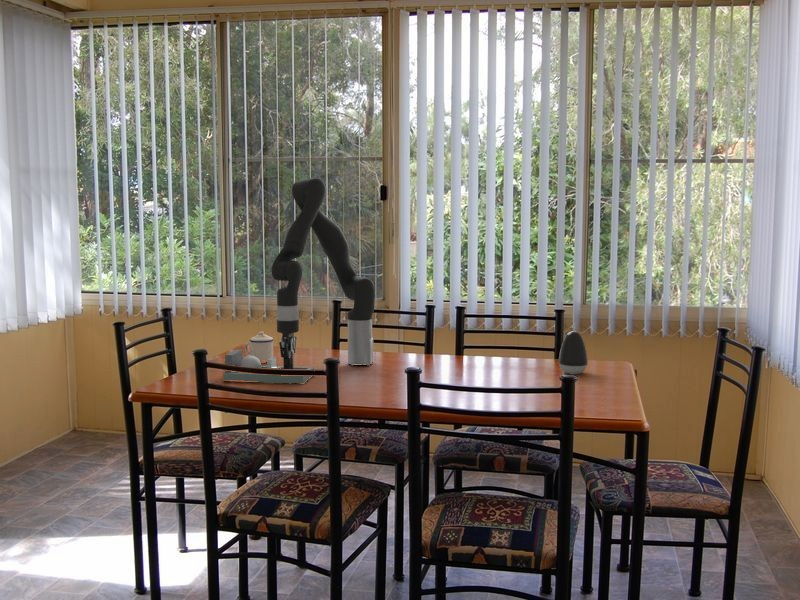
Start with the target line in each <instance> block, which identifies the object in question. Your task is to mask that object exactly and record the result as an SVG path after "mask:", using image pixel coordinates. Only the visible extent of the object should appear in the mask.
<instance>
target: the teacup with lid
mask: <svg viewBox="0 0 800 600" xmlns="http://www.w3.org/2000/svg"><path fill="white" fill-rule="evenodd" d="M248 345H250V350H249V351H248ZM243 348H244V352H245V354H247V356H249V355H251V356H255V357H257V358H258V359H259V360H268V359H270V358H272V357H274V337H271V336H269V335H267V334H265V332H264V331H258V334H256V335H255V336H253V337H250V338H249V341H248V342H245V343H244V345H243Z"/></svg>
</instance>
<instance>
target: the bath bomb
mask: <svg viewBox="0 0 800 600" xmlns="http://www.w3.org/2000/svg"><path fill="white" fill-rule="evenodd" d="M239 366H243V367H253V368H262V366H263V365H262V364H261V362H260V360H259V359H258V358H257V357H255V356H251V355H247V356H243V358H242V359H241V361H240V362H239Z"/></svg>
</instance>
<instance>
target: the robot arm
mask: <svg viewBox="0 0 800 600" xmlns="http://www.w3.org/2000/svg"><path fill="white" fill-rule="evenodd" d="M291 193H292V197H293V200H294V202H295V203H296V205H297V206H298V208H299V209H300V213H299V214H298V215H297V217H296V219H294V221H293V222H292V224H291V225H290V227H289V229H288V231H287V233H286V236H285V240H284V243H283V247H282V248H281V250H279V252H278V255H277V256H276V258H274V260H273V262H272V265H271V269H270V271H271V275H272V278H273V279H274V280H276V281H280V282H287V285H286V287H282V288H279V289H277V291H276V303H277V304H276V332H277V333H279V334H282V337H281V339H280V341H279V342H278V344H279V349H280V352H279V353H280V357H281V358H282V360H283V366H284V369H290V352H291V351H292V346H293V357H294V355H295V353H296V348H297V347H296V346H297V338H298V337H297V336H295V333H299V330H300V327H299V326H300V321H299V320H300V315H299V311H300V310H299V305H298V303H299V302H298V297H299V296H298V295H299V289H300V285H301V281H302V277H303V267H302V265H301V263H300V262H299V261H297V260H294V259H298V258H300V257H302V256H303V254H304V249H305V246H306V242H307V240H308V236H309V233H310V230H311V229H312V230H313V232H314V234H315V237H316V239H318V242H319V244H320V246H321V248H322V250H323V252H324V254H325V255H326V256H327V259H328V261H329V262H330V264H331V266H332V269H334V272H335V274H336V276H337V279H338V282H339V284H340V287H341V289H342V292H343V294H344V296H345V297H346V298H347V299H349V300H351V301H353V307H352V309H351V310H349V311H348V312H347V364H348V363H349V364H362V365H363V364H371V363H372V362H373V363H374V338H373V314H374V311H375V299H376V298H375V297H376V289H375V284H374V282H373V280H372V279H371V278H369V277H365V276H359V275H358V274H357V273H356V271H355V269H354V267H353V266H352V263H351V259H350V256H351V255H350V253H351V252H350V246H349V243H348V240H347V238H346V237H345V234H344V232H343V230H342V228H341V227H340V226H339V225H338V224H337V223H336V222H334V220H332V219H330V218H329V217H328V216H327V215H326V214H324V212H323V211H322V210H321V207H322V205H323V203H324V201H325V197H326V194H327V187H326V184H325V182H324V181H323V180H322V179H321V178H319V177H310V178H307V179H306V178H305V179H300V180H297V181H296V182H294V183H293V184H292V187H291ZM288 348H289V349H288ZM285 352H286V354H285ZM373 363H372V364H373ZM349 364H348V365H349Z"/></svg>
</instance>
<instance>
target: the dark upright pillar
mask: <svg viewBox="0 0 800 600" xmlns="http://www.w3.org/2000/svg"><path fill="white" fill-rule="evenodd" d="M288 349H289V348H288ZM285 354H286V352H285ZM266 364H267V366H268V368H278V369H280V367H276V366H277V356H273V357H272V358H270V359H268V360H267V363H266ZM293 367H294V356H293V346H292V351H291V352H290V369H293Z"/></svg>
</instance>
